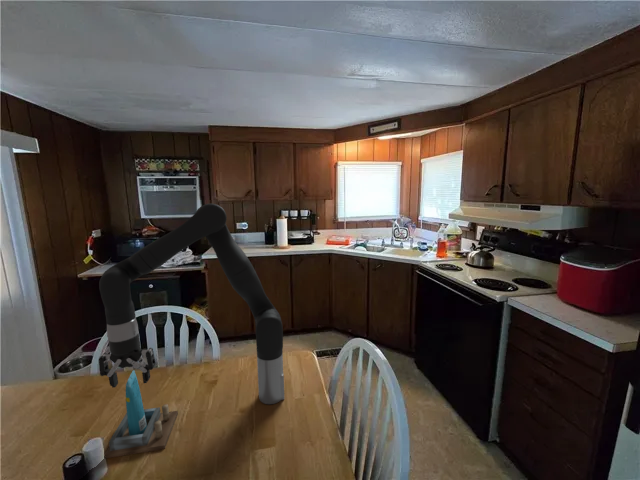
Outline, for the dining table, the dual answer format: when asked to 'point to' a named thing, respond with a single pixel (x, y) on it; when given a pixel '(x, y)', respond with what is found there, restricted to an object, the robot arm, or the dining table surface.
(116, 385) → the robot arm
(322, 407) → the dining table surface
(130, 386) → the tube
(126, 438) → the socket board
